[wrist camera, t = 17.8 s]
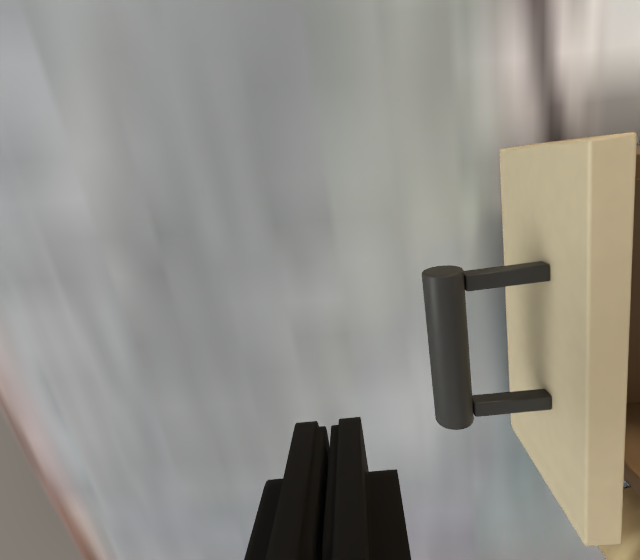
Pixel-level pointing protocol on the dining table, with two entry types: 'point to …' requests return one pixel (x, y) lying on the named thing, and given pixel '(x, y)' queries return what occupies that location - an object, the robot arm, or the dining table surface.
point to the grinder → (627, 530)
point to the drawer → (559, 323)
